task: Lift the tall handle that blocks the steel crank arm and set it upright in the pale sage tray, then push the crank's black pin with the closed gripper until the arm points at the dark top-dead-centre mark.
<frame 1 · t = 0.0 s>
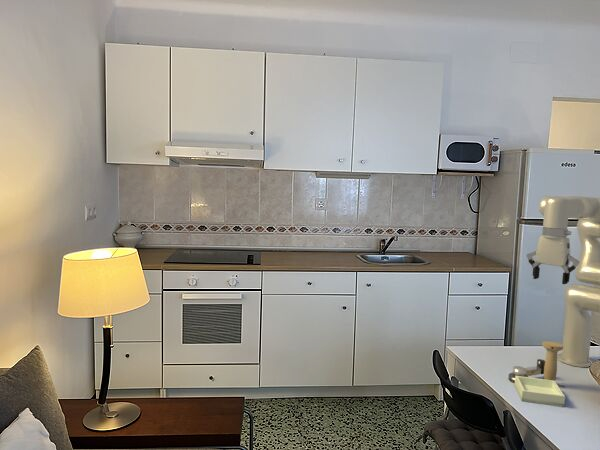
hand: (550, 281, 168), 37 cm above the table, tool pointing down, fingers open, 9 cm apart
crank: (529, 368, 174), point 4 cm above the table, hinge at 125.0°
handle: (549, 385, 170), on the table
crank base: (518, 380, 172), on the table
tray: (538, 395, 161), on the table
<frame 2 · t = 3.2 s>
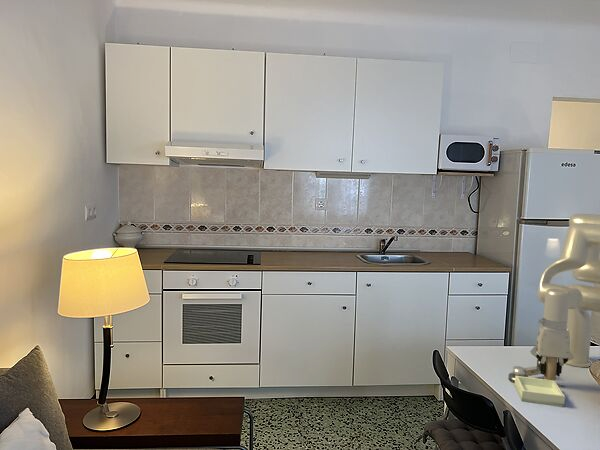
hand: (550, 373, 169), 4 cm above the table, tool pointing down, fingers closed on handle, 4 cm apart
handle: (549, 385, 170), on the table, touching gripper
everything else where it was.
when the fingers open (6 cm above the table, at t = 9.6 s): handle drops 1 cm, resting on tray.
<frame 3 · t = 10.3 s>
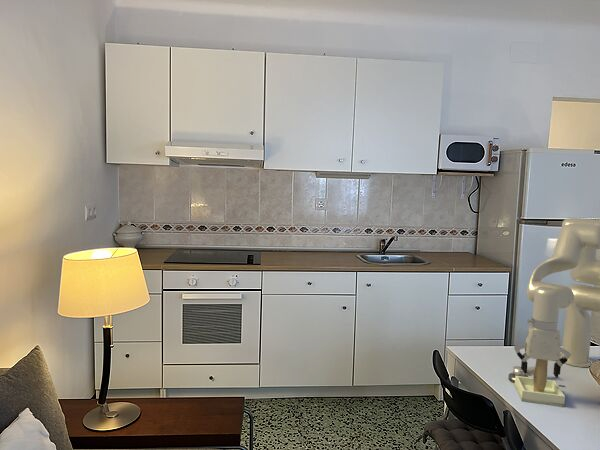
hand: (539, 374, 160), 8 cm above the table, tool pointing down, fingers open, 9 cm apart
handle: (538, 393, 161), point 1 cm above the table, touching tray
everything else where it was.
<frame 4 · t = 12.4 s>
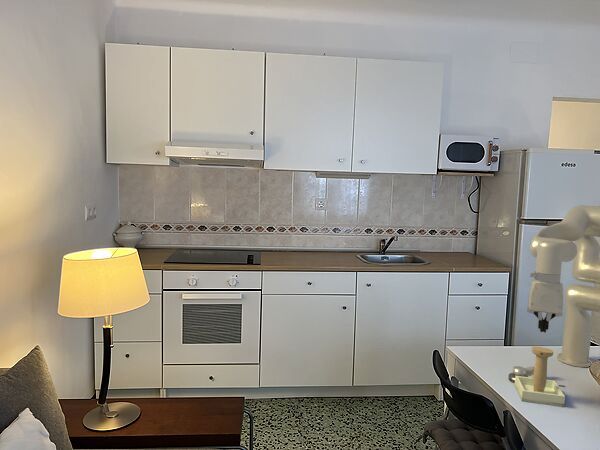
hand: (542, 331, 161), 22 cm above the table, tool pointing down, fingers closed
nothing on the table moved.
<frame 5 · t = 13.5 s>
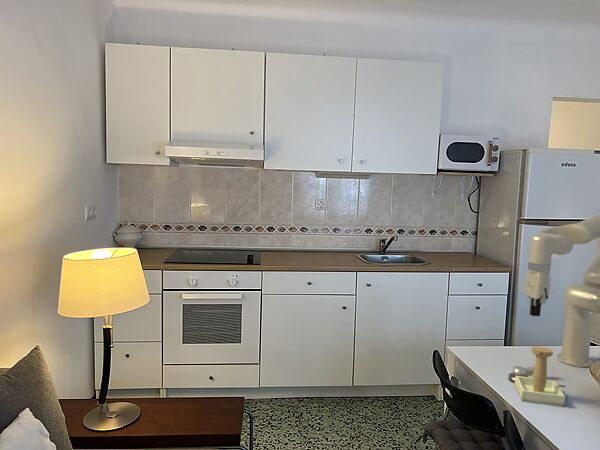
hand: (534, 315, 180), 22 cm above the table, tool pointing down, fingers closed
nothing on the table moved.
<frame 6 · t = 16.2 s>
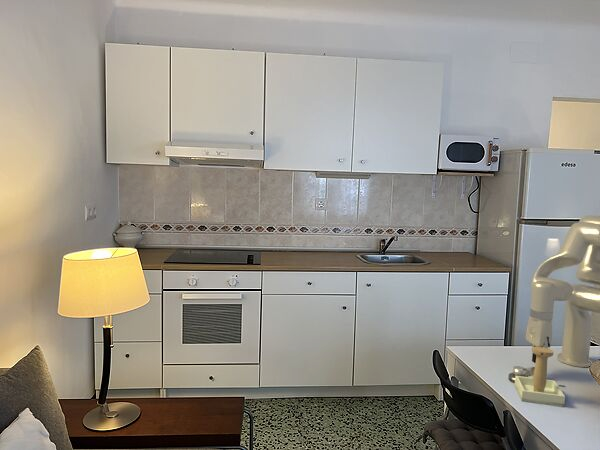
hand: (537, 362, 178), 5 cm above the table, tool pointing down, fingers closed
crank: (529, 368, 173), point 4 cm above the table, hinge at 122.8°, touching gripper
everything else where it was.
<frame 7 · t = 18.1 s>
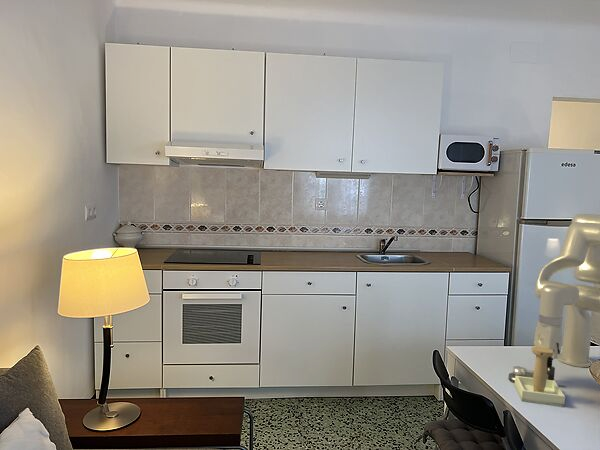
hand: (545, 369, 172), 4 cm above the table, tool pointing down, fingers closed
crank: (533, 371, 171), point 4 cm above the table, hinge at 88.5°
everything else where it was.
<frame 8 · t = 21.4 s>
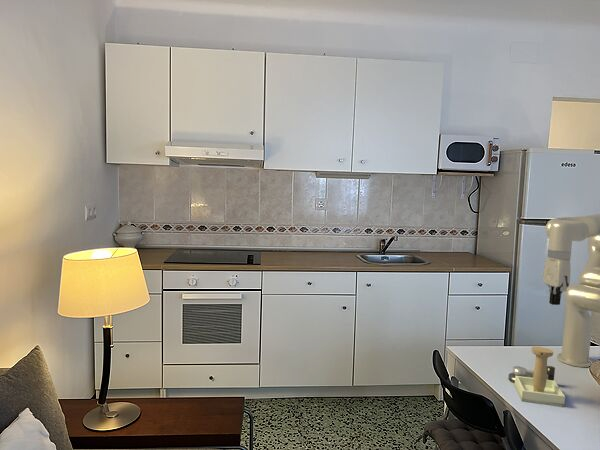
hand: (554, 304, 176), 27 cm above the table, tool pointing down, fingers closed
nothing on the table moved.
at the end: handle inside the target area on the tray (0.2 cm from its centre), point 0.8 cm above the tray's base; handle tilted 0°; crank at +88° (first picture: +125°) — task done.
